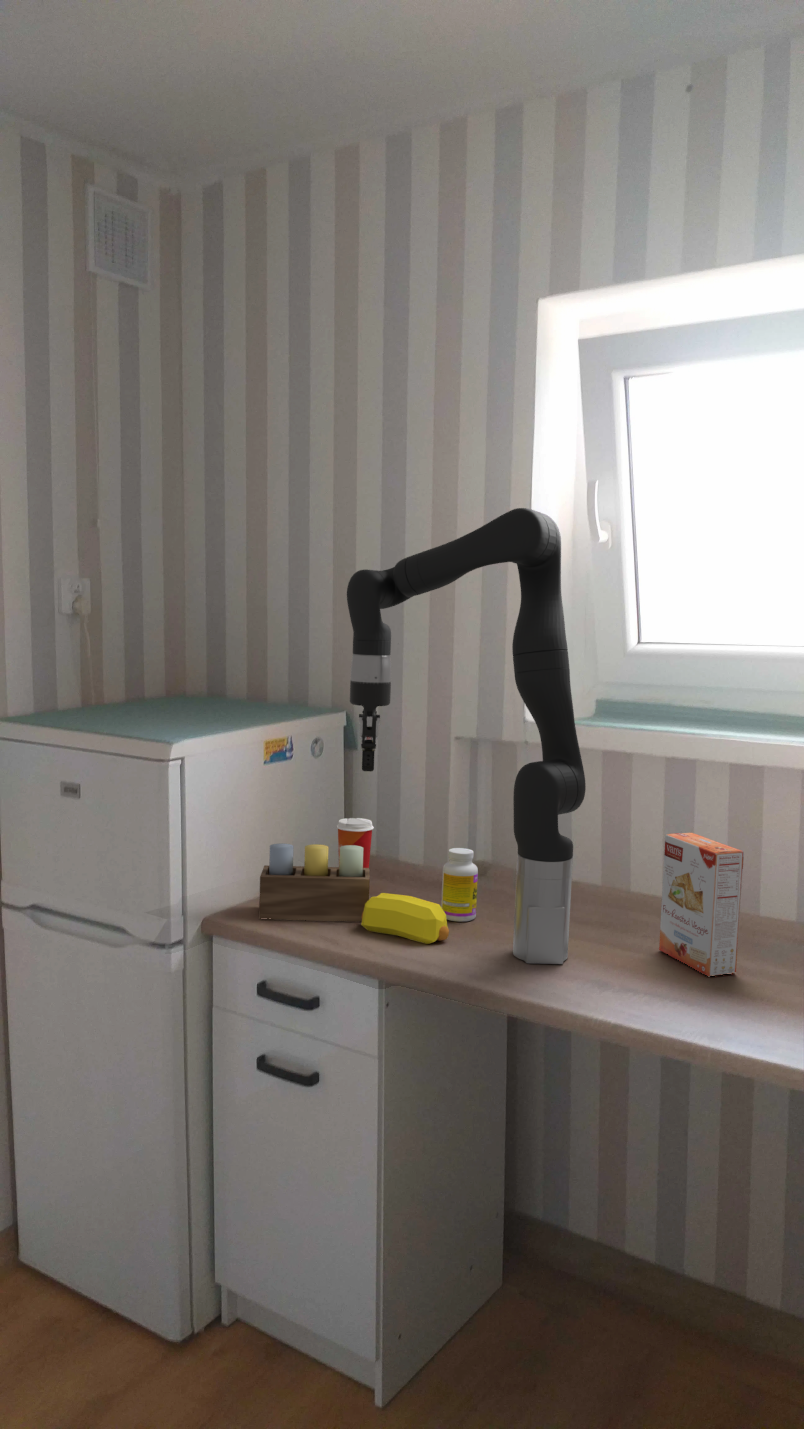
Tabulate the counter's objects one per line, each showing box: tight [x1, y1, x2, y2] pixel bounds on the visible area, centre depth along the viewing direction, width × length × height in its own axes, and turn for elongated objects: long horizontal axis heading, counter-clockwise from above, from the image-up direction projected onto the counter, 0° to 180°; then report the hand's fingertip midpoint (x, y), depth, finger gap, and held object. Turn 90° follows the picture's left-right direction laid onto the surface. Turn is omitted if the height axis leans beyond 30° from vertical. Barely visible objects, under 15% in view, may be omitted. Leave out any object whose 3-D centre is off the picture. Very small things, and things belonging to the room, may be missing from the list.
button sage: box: [338, 845, 363, 877], centre depth 197 cm, size 4×4×6 cm
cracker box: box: [658, 832, 745, 977], centre depth 176 cm, size 14×6×21 cm, turn 21°
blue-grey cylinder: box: [268, 843, 294, 875], centre depth 196 cm, size 4×4×6 cm
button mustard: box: [303, 843, 330, 876], centre depth 196 cm, size 4×4×6 cm
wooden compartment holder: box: [258, 865, 371, 923], centre depth 197 cm, size 8×20×8 cm, turn 92°
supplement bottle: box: [440, 847, 479, 923], centre depth 198 cm, size 7×7×13 cm
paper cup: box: [336, 817, 375, 869], centre depth 216 cm, size 8×8×14 cm
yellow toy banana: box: [360, 892, 450, 945], centre depth 187 cm, size 18×7×8 cm
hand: (367, 767), depth 196 cm, fingers open, 7 cm apart
